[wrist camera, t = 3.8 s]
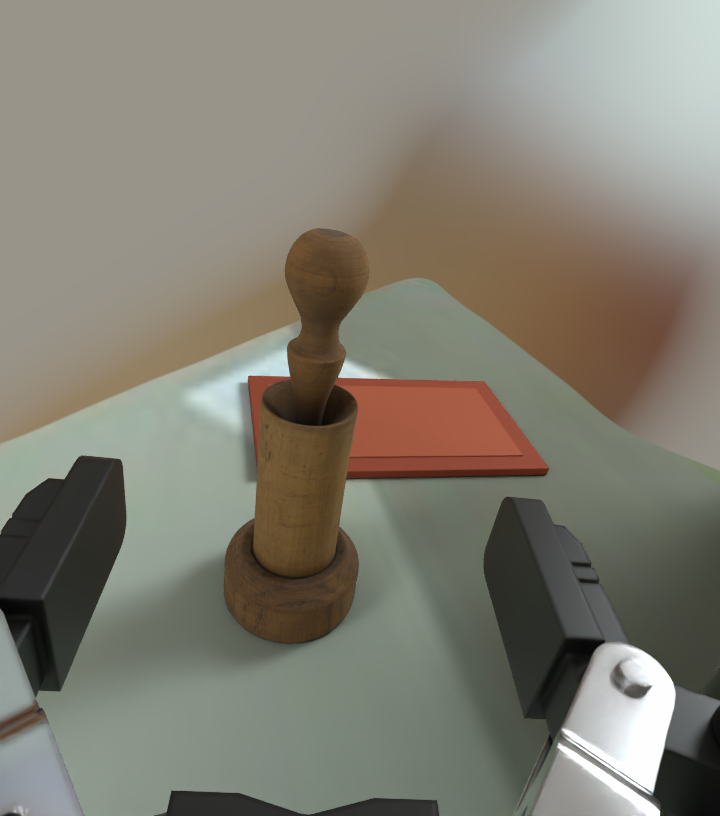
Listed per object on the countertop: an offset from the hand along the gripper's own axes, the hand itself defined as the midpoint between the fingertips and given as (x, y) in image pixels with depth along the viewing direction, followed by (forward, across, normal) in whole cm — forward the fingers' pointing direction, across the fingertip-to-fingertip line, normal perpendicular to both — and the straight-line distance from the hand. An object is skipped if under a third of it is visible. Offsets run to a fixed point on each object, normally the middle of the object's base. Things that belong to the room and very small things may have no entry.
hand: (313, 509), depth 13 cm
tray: (+27, -6, +15) cm, 32 cm away
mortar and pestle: (+11, 0, +15) cm, 19 cm away
